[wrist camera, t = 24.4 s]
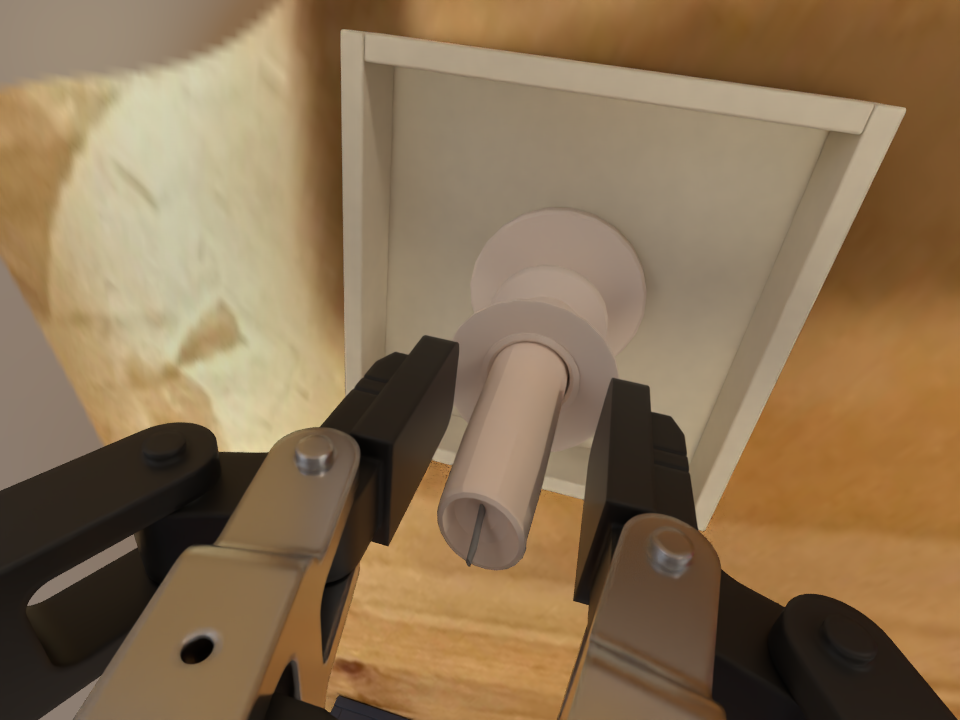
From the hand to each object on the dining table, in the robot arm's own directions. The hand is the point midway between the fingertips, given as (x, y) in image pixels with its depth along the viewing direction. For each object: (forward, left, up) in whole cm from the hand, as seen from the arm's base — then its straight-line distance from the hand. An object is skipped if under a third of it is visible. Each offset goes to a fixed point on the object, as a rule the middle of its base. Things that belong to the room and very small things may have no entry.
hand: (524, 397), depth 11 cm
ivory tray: (0, 0, -7) cm, 7 cm away
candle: (0, 0, -6) cm, 6 cm away
